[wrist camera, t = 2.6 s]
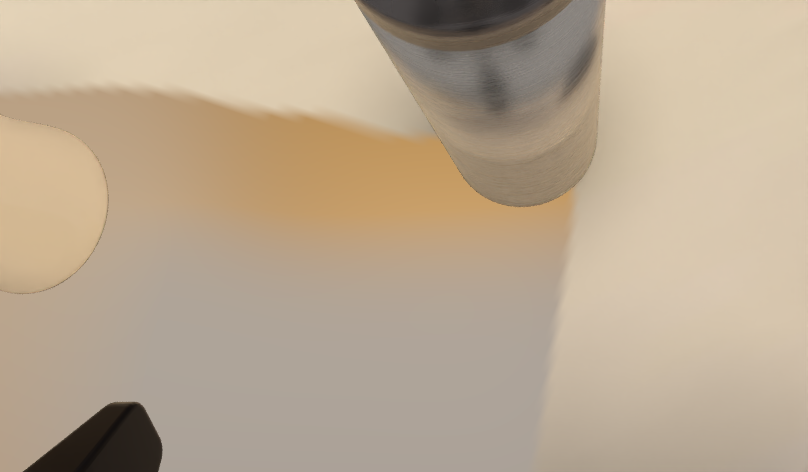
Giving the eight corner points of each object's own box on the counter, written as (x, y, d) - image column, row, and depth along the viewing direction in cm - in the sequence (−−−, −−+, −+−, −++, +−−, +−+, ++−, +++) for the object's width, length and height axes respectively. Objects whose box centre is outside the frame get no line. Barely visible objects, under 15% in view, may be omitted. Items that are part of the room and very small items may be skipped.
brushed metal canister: (560, 229, 23) (535, 66, 11) (428, 174, 24) (269, -30, 12) (620, 97, 24) (665, -212, 11) (487, 49, 25) (392, -278, 12)
